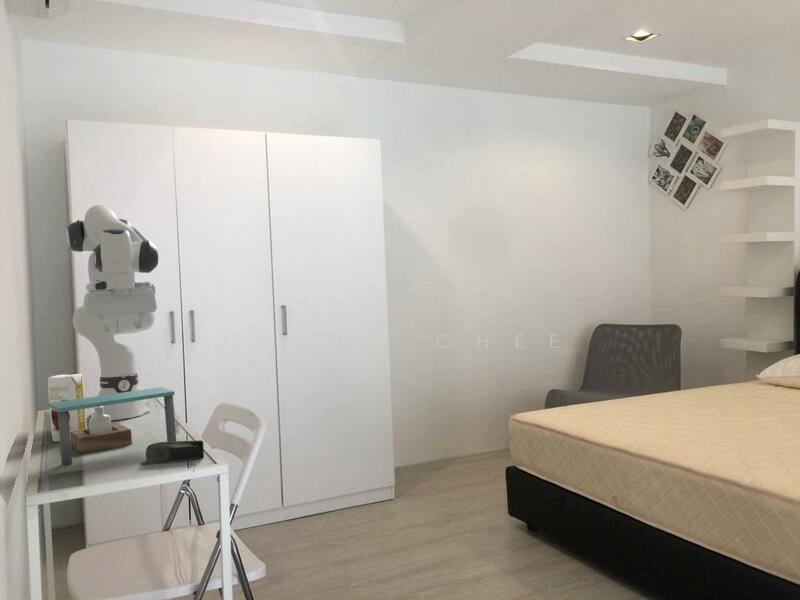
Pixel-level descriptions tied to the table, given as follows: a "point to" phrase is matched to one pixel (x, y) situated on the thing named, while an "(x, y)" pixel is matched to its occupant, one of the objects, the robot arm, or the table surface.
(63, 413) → the teal slab bridge
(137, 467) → the table surface
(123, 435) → the socket block
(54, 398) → the juice carton
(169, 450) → the mobile phone
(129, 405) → the robot arm
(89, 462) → the table surface
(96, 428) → the eye dropper bottle
